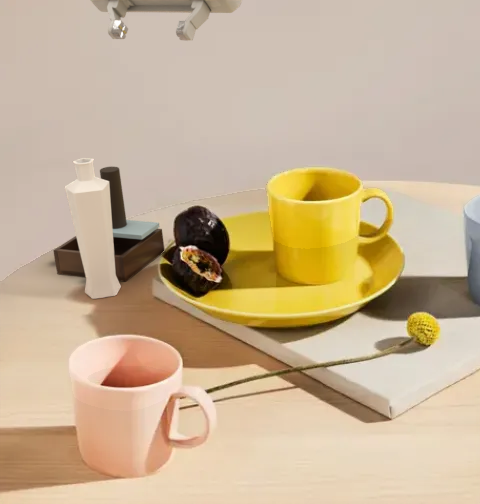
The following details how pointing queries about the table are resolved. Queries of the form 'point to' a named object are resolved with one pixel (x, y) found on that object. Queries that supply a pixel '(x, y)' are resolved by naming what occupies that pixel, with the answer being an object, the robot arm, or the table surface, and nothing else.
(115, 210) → the dark cylinder on slab
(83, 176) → the white faceted vase
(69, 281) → the table surface
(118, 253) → the dark brown square tray
